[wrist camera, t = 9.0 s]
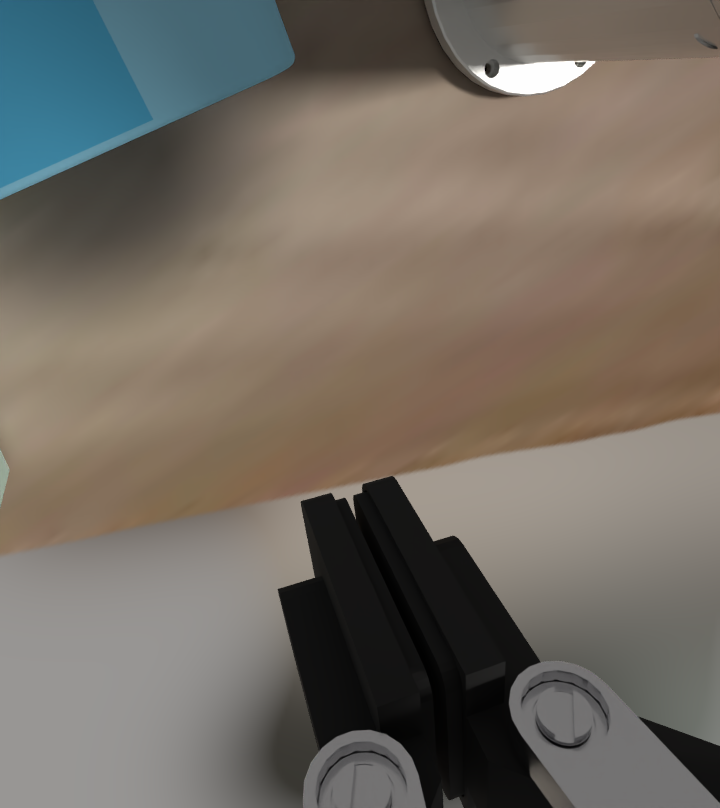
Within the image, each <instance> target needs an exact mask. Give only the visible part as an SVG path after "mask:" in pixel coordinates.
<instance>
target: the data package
mask: <svg viewBox="0 0 720 808" xmlns="http://www.w3.org/2000/svg"><path fill="white" fill-rule="evenodd" d="M294 60H295V54H294V51H293V49H292V46H291V43H290V40H289V38H288V35H287V32H286V29H285V27H284V24H283V21H282V18H281V16H280V13H279V10H278V7H277V5H276V2H275V0H0V199H3V198H5V197H7V196H9V195H12V194H14V193H16V192H18V191H20V190H23V189H25V188H27V187H29V186H32V185H34V184H36V183H38V182H40V181H43V180H45V179H47V178H49V177H52V176H54V175H56V174H58V173H60V172H63V171H65V170H67V169H69V168H72V167H74V166H76V165H78V164H80V163H83V162H85V161H87V160H89V159H92V158H94V157H96V156H98V155H100V154H103V153H105V152H107V151H109V150H112V149H114V148H116V147H118V146H120V145H123V144H125V143H127V142H129V141H132V140H134V139H136V138H138V137H140V136H143V135H145V134H147V133H149V132H152V131H154V130H156V129H158V128H160V127H163V126H165V125H167V124H169V123H172V122H174V121H176V120H178V119H180V118H183V117H185V116H187V115H189V114H192V113H194V112H196V111H198V110H200V109H203V108H205V107H207V106H209V105H212V104H214V103H216V102H218V101H220V100H223V99H225V98H227V97H229V96H232V95H234V94H236V93H238V92H240V91H243V90H245V89H247V88H249V87H252V86H254V85H256V84H258V83H260V82H263V81H265V80H267V79H269V78H271V77H273V76H275V75H277V74H279V73H281V72H283V71H284V70H286V69H288V68H289V67H290V66H291V65H292V64H293V63H294Z"/></svg>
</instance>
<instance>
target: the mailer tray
mask: <svg viewBox="0 0 720 808" xmlns="http://www.w3.org/2000/svg"><path fill="white" fill-rule="evenodd" d="M8 474H9V467H8V465H7V463H6V461H5V459H4V456H3V454H2V452H1V450H0V506H1V502H2V498H3V494H4V490H5V486H6V482H7V478H8Z"/></svg>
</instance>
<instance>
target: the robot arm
mask: <svg viewBox="0 0 720 808" xmlns="http://www.w3.org/2000/svg"><path fill="white" fill-rule="evenodd" d="M424 2H425V6H426V9H427V12H428V16H429V19H430V22H431V26H432V28H433V30H434V32H435V34H436V36H437V38H438V40H439V42H440V44H441V46H442V48H443V50H444V51H445V53H446V54H447V55H448V57H449V58H450V59H451V61H452V62H453V63H454V65H455V66H456V67H457V68H458V69H459V70H460V71H461V72H462V73H463V74H465V75H466V76H467V77H468V78H469V79H470V80H471V81H473V82H474V83H476V84H478V85H480V86H482V87H484V88H486V89H487V90H489V91H493V92H497V93H501V94H505V95H514V96H531V95H539V94H545V93H548V92H551V91H553V90H556V89H559V88H561V87H564V86H565V85H567V84H568V83H570V82H572V81H573V80H575V79H576V78H578V77H580V76H581V75H582V74H583V73H584V72H585V71H586V70H588V69H589V68H590V67H591V66H592V65H593V64H594V63H595V62H596V61H622V60H651V59H681V58H710V57H720V0H424ZM485 65H486V66H487V71H486V73H485ZM353 500H354V508H355V516H356V519H355V517H354V515H353V513H352V511H351V508H350V506H349V504H348V502H347V500H346V498H342V499H339V500H335V499H334V497H333V495H332V494H331V493H329V494H325V495H322V496H318V497H315V498H311V499H307V500H304V501H301V507H302V513H303V518H304V523H305V528H306V533H307V538H308V543H309V549H310V554H311V559H312V564H313V569H314V575H315V578H313V579H310V580H306V581H303V582H300V583H296V584H293V585H290V586H287V587H284V588H280V589H278V593H279V597H280V601H281V605H282V609H283V613H284V617H285V621H286V625H287V630H288V633H289V637H290V642H291V646H292V650H293V653H294V657H295V661H296V665H297V669H298V673H299V677H300V681H301V685H302V688H303V692H304V696H305V700H306V704H307V708H308V712H309V716H310V719H311V723H312V727H313V731H314V735H315V739H316V743H317V747H318V750H319V753H318V754H317V755H316V757H315V758H314V759H313V761H312V762H311V764H310V767H309V769H308V772H307V775H306V777H305V780H304V792H303V807H304V808H443V793H442V789H443V791H444V793H445V795H446V797H447V798H448V800H451V799H454V798H456V797H460V800H461V802H462V805H463V807H464V808H720V746H718V745H715V744H712V743H710V742H707V741H704V740H702V739H699V738H696V737H693V736H690V735H688V734H685V733H682V732H679V731H677V730H674V729H671V728H668V727H666V726H663V725H660V724H657V723H654V722H652V721H649V720H646V719H644V718H641V717H638V716H636V714H634V713H633V712H632V710H631V709H630V708H629V707H628V706H627V705H626V704H625V703H624V702H623V701H622V700H621V699H620V698H619V697H618V696H617V694H615V693H614V691H613V690H612V689H611V688H610V687H609V686H608V685H607V684H606V683H605V682H604V681H602V680H601V679H600V678H599V677H597V676H596V675H595V674H594V673H592V672H591V671H589V670H587V669H585V668H583V667H580V666H578V665H576V664H572V663H567V662H563V661H545V662H540V661H539V659H538V657H537V656H536V654H535V653H534V651H533V650H532V648H531V647H530V645H529V644H528V642H527V641H526V639H525V638H524V636H523V635H522V633H521V632H520V630H519V629H518V627H517V625H516V624H515V622H514V621H513V620H512V618H511V617H510V615H509V613H508V612H507V610H506V609H505V607H504V606H503V604H502V603H501V601H500V600H499V598H498V597H497V595H496V594H495V592H494V591H493V589H492V588H491V586H490V585H489V583H488V582H487V580H486V579H485V577H484V576H483V574H482V572H481V571H480V569H479V568H478V566H477V565H476V563H475V562H474V560H473V559H472V557H471V556H470V554H469V553H468V551H467V550H466V548H465V547H464V545H463V544H462V543H461V541H460V540H459V539H458V538H457V537H455V536H450V537H447V538H444V539H440V540H437V541H434V542H433V540H432V538H431V537H430V535H429V533H428V532H427V530H426V529H425V527H424V525H423V523H422V522H421V520H420V518H419V517H418V515H417V513H416V512H415V510H414V509H413V507H412V505H411V504H410V502H409V500H408V499H407V497H406V495H405V494H404V492H403V490H402V489H401V487H400V485H399V484H398V482H397V480H396V479H395V478H394V477H393V476H390V477H387V478H383V479H379V480H376V481H372V482H369V483H365V484H363V485H362V493H360V494H357V495H354V497H353Z"/></svg>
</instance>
